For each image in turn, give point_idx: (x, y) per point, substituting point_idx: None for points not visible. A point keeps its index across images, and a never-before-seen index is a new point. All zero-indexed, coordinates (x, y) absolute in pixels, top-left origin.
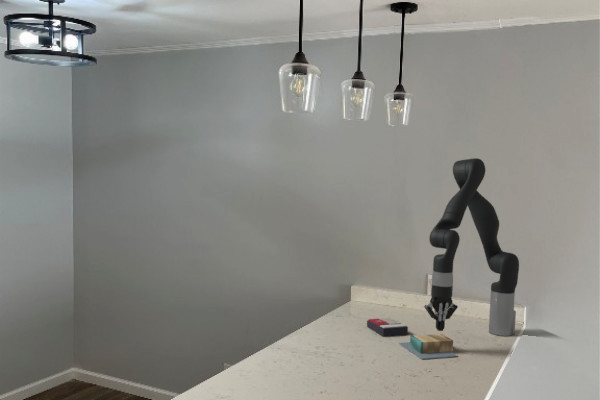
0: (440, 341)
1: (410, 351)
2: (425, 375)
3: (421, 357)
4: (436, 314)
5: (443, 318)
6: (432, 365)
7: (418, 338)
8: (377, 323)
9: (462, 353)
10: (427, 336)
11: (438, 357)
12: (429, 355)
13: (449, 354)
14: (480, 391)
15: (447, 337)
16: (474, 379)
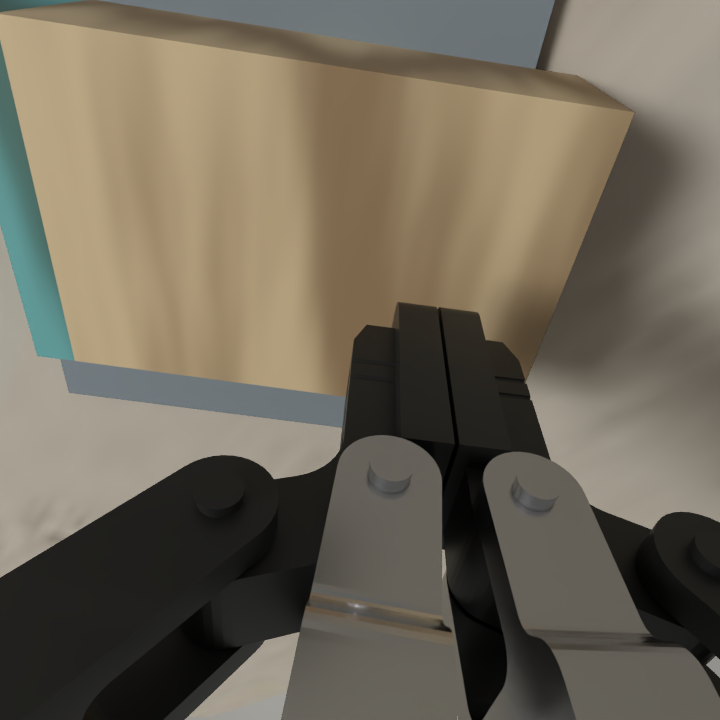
0: (325, 392)
1: None
2: (5, 568)
3: (72, 373)
4: (341, 603)
5: (462, 621)
6: (114, 487)
7: (56, 202)
8: None
9: (554, 382)
10: (264, 155)
11: (236, 412)
12: None
13: None
14: (202, 708)
15: (546, 307)
16: (258, 654)
